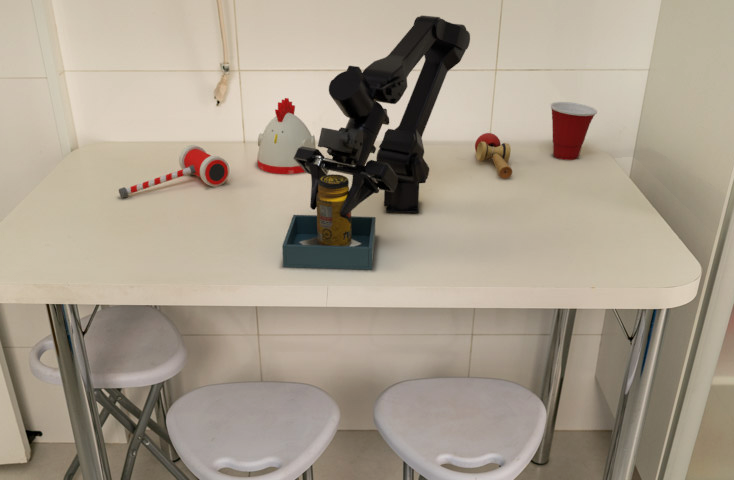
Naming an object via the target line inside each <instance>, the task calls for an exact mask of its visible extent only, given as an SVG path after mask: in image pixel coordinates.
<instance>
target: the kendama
mask: <svg viewBox="0 0 734 480" xmlns="http://www.w3.org/2000/svg"><path fill="white" fill-rule="evenodd" d="M474 149H475V157H476V160H477V161H478V162H484V161H485V160H492V162H493V164H494V166H495V168H496V170H497V172H498V176H499V177H500V178H501V179H503V180H506V179H509V178H510V177H512V174H513V169H512V167H511V166H510V165H509V163H508V162H509V160H510V158H511V145H510V143H508V142H502V143H501V140H500V139H499V137H498V136H497V135H496V134H494V133H491V132H485V133H482V134H480V136H478V137H477V139H476V140H475V143H474Z"/></svg>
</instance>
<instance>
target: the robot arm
mask: <svg viewBox="0 0 734 480" xmlns="http://www.w3.org/2000/svg"><path fill="white" fill-rule="evenodd" d="M470 43H471V34H470V32H469V30H467V28H466V26H465V25H464V24H463V23H462V24H461V23H452V22H449V21H447V20H445V19H444V18H441V17H440V16H433V15H422V14H421V15H420V16H417V17H416V18H415V19H414V22H413V25H412V26H411V28H410V29H409V30H408V31H407V32H406V33H405V35H404V36H403V37H402V38H401V39H400V41H399V42H398V43H397V44H396V46H395V47H394V48H393V49H392V50H391V52H390V53H389V54H387V56H385V57H382V58H380V59H377V60H374V61H373V62H371V63H370V64H369V65H368V66H366V68H364V70H363V71H362V69H361V68H360V66H355V65H348V67H347V69H346V70H345V71H342V72H341V73H338V74H337V75H336V76H335V77H334V78H333V79H331V80H330V82H329V85H328V94H329V96H330V97H331V98H332V100H333V101H334V103H335V104H336V106H337V107H338V108H339V110H340V111H341V112H342V113H343V115H344V116H345V117H346V118H348V121H347V123H346V126H345V127H340V128H339V129H332V128H328V127H321V129H320V133H319V138H318V143H317V147H318V148H324V149H327V150H326V154H328V156H331V157H332V158H328V157H325V155H324V154H323V153H322V152H321V151H320V150H319V149H318V148H316V149H314V148H309V147H304V146H302V147H300V148H298V149H297V151H296V153H295V156H294V158H293V159H294V160H295V161H296V162H297V163H298V164H299V165H300V166H301V167H302V169H303V170H304V171H305V172H304V173H306V174H308V175H310V177H311V179H310V180H311V186H310V187H311V188H310V205H309V208H310V209H311V210H312V211H314V210H316V209H317V203H316V196H317V193H318V186H319V185H318V181H319V178H320V177H322V176H325V175H329V171H330V172H336V173H339V174H345V175H350V176H352V180H351V186H350V187H349V192H348V195H347V197H346V199H345V201H344V204H343V206H342V209H341V212H340V215H341V216H342V217H345V216H346V215H347V214H348V213H349V212H350V211H351V212H352V211H353V210H354V209H355V208H357V206H359V205H360V204H362V202H364V201H365V200H367V199H368V198H369V197H371V196H372V195H373V194H379V193H380V191H383V192H384V193H383V195H384V196H383V206H384V208H385V212H386V213H392V214H394V213H395V214H396V213H398V214H419V212H420V205H419V203H420V201H419V199H420V198H419V196H420V184H426V183H427V180H428V178H429V175H430V166H429V164H428V163H427V162H426V159H424V155H425V148H424V141H423V139H422V138H423V136H424V132H425V130H426V127H427V125H428V122H429V120H430V117H431V114H432V112H433V109H434V107H435V105H436V101H437V99H438V97H439V94H440V92H441V89H442V88H443V84H444V82H445V79H446V77H447V74H448V72H449V71H451V69H453V68H454V67H456V65H458V64H459V63H461V61H462V59H463V57H464V55H465V52H466V51H467V50H468V49H469V46H470ZM423 57H424V63H423V64H422V67H421V70H420V72H419V74H418V78H417V80H416V82H415V85H414V88H413V90H412V92H411V95H410V97H409V100H408V102H407V105H406V107H405V109H404V113H403V115H402V118H401V119H400V122H399V125H398V126H397V127H396V128H394V129H392V128H387V130H385V132H384V135H383V139H382V140H381V143H380V144H379V146H378V148H379V149H378V150H377V147H376V146H375V143H376V140H377V138H378V136H379V134H380V132H381V129H382V127H383V125H385V126H389V125H390V117H389V114H388V109H387V108H384V107H383V106H382V104H381V103H383V104H384V103H385V104H388V105H389V104H391V105H396V104H397V103H398V102H399V101H400V100H401V98H402V97H403V96H404V94H405V92H406V90H407V88H408V77H409V75H410V74H411V72H412V71H413V70H414V68H415V67H416V66H417V65H418V63H419V62H420V61H421V60H422V58H423ZM376 150H377V153H376ZM375 153H376V157H375V158H376V160H373V159H370V160H368V159H369V157H370V155H371V154H375Z"/></svg>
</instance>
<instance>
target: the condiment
mask: <svg viewBox="0 0 734 480" xmlns="http://www.w3.org/2000/svg"><path fill="white" fill-rule="evenodd" d="M349 184H350V181H349V178H348V177H347V176H345V175H342V174H327V175H325V176H322V177H320V178H319V181H318V185H319V186H318V193H317V196H316V203H317V207H316V215H317V232H318V237H314V238H312V239H309V240H304V241H301V242H300V243H301V244H302V245H321V246H357V245H360V244H361V243H359V242H357V241H355V240H353V239H351V216H352V211H350V212H349V213H348V214H347V215H346V216H345V217H342V216H341V215H340V212H341V209H342V206H343V204H344V201H345V199H346V197H347V195H348V192H349V190H350V187H349Z"/></svg>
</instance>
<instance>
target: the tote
mask: <svg viewBox="0 0 734 480" xmlns="http://www.w3.org/2000/svg"><path fill="white" fill-rule="evenodd" d="M376 218H377V217H376V216H356V215H353V216H352V215H351V239H353V240H355V241H357V242H359V243H361V244H360V245H357V246H321V245H302V244H301V243H300V242H301V241H304V240H309V239H312V238H314V237H318V232H317V214H293V215H292V218H291V220H290V222H289V226H288V229H287V232H286V235H285V237H284V240H283V243H282V267H283V268H300V269H301V268H303V269H335V270H336V269H337V270H339V269H340V270H364V271H366V270H367V271H369V270H370V271H372V270H373V261H374V253H375V252H374V251H375V244H376V221H377V220H376Z"/></svg>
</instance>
